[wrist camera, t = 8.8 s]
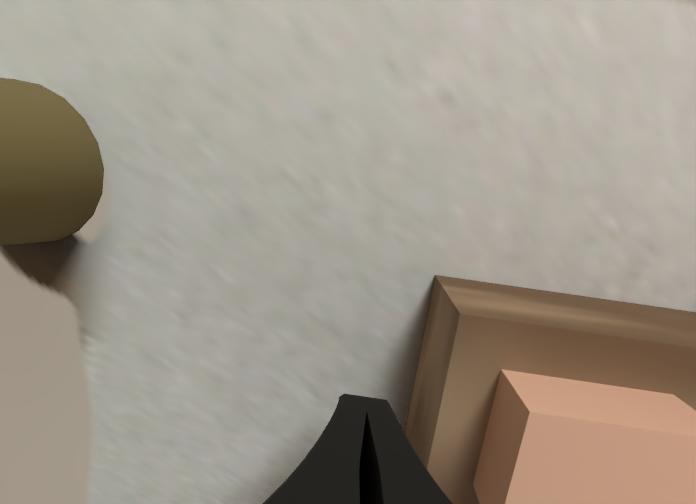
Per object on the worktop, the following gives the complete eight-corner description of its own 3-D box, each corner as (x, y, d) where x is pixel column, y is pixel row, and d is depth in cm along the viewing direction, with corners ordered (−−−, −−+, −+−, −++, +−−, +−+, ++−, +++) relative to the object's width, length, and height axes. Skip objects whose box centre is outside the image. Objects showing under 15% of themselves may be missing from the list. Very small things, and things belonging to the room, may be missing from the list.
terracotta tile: (632, 508, 12) (684, 575, 10) (472, 484, 12) (493, 545, 10) (673, 394, 11) (739, 443, 9) (501, 369, 11) (529, 411, 9)
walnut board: (601, 579, 17) (668, 698, 14) (382, 546, 18) (387, 654, 14) (696, 312, 15) (817, 365, 11) (435, 275, 15) (460, 313, 11)
